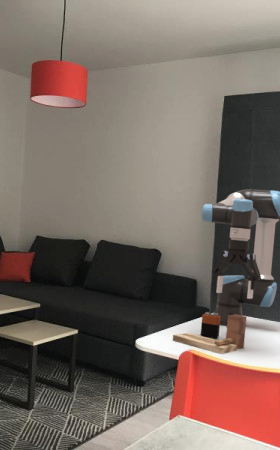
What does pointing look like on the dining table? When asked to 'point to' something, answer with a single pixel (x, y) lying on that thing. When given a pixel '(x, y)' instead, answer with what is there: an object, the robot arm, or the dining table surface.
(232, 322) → the wooden mallet
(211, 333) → the battery
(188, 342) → the board
